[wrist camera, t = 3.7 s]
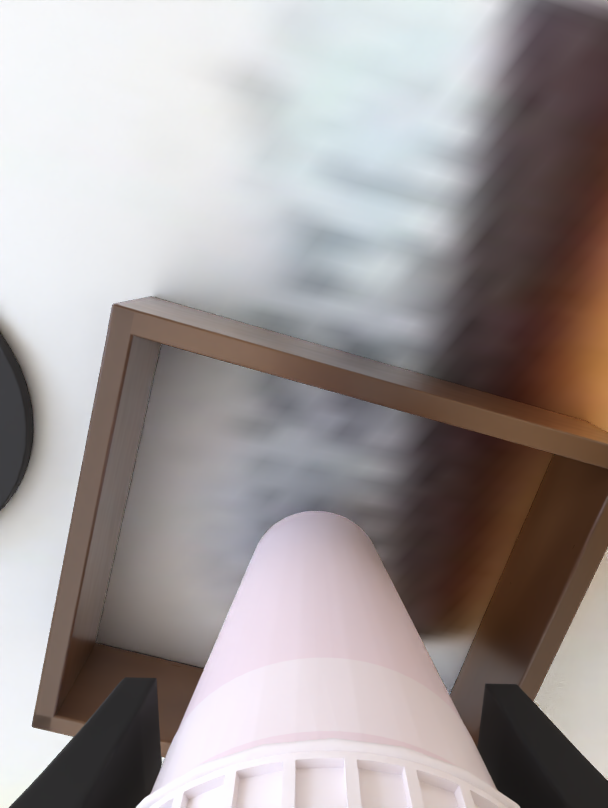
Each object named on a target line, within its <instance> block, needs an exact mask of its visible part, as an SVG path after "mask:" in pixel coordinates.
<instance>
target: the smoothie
mask: <svg viewBox="0 0 608 808" xmlns="http://www.w3.org/2000/svg"><path fill="white" fill-rule="evenodd" d="M136 808H520V806H519V805H518V804H517V803H515V802H514V801H512V800H511V799H509V798H508V797H506V796H505V795H503V794H502V793H501V792H499V791H498V790H497V788H496V786H495V784H494V782H493V780H492V778H491V776H490V774H489V772H488V770H487V768H486V766H485V764H484V762H483V760H482V758H481V755H480V753H479V751H478V749H477V747H476V745H475V743H474V741H473V739H472V737H471V735H470V733H469V732H468V730H467V728H466V726H465V725H464V723H463V721H462V719H461V717H460V715H459V713H458V711H457V709H456V707H455V705H454V703H453V701H452V699H451V697H450V695H449V693H448V691H447V689H446V687H445V685H444V683H443V681H442V680H441V678H440V676H439V674H438V672H437V670H436V668H435V666H434V664H433V662H432V660H431V658H430V656H429V654H428V652H427V650H426V648H425V646H424V644H423V642H422V640H421V638H420V636H419V634H418V632H417V630H416V628H415V626H414V624H413V622H412V620H411V618H410V616H409V614H408V612H407V610H406V608H405V606H404V604H403V602H402V600H401V598H400V596H399V595H398V593H397V591H396V589H395V587H394V585H393V583H392V581H391V579H390V577H389V575H388V573H387V571H386V569H385V567H384V565H383V563H382V561H381V559H380V557H379V555H378V553H377V551H376V549H375V547H374V545H373V543H372V541H371V540H370V538H369V537H368V535H367V534H366V533H365V532H364V531H363V530H362V529H361V528H360V527H359V526H358V525H357V524H355V523H354V522H352V521H351V520H349V519H347V518H345V517H343V516H341V515H338V514H335V513H331V512H325V511H306V512H300V513H296V514H293V515H290V516H288V517H286V518H284V519H282V520H280V521H279V522H277V523H276V524H274V525H273V526H272V527H271V528H270V529H268V530H267V532H266V533H265V534H264V535H263V536H262V538H261V539H260V541H259V543H258V545H257V547H256V549H255V551H254V554H253V556H252V558H251V561H250V563H249V565H248V568H247V570H246V572H245V575H244V577H243V579H242V582H241V584H240V586H239V589H238V591H237V593H236V596H235V598H234V600H233V603H232V605H231V607H230V610H229V612H228V614H227V617H226V619H225V621H224V624H223V626H222V628H221V631H220V633H219V635H218V638H217V640H216V642H215V645H214V647H213V649H212V652H211V654H210V656H209V659H208V661H207V663H206V666H205V668H204V670H203V673H202V675H201V677H200V680H199V682H198V684H197V687H196V689H195V691H194V693H193V696H192V698H191V700H190V703H189V705H188V707H187V710H186V712H185V714H184V717H183V719H182V721H181V724H180V726H179V728H178V731H177V733H176V734H175V736H174V738H173V740H172V743H171V745H170V747H169V750H168V752H167V754H166V757H165V759H164V762H163V764H162V767H161V769H160V772H159V774H158V776H157V779H156V781H155V784H154V786H153V789H152V791H151V794H150V795H148V796H147V797H145V798H144V799H143V800H142V801H141V802H140V803H139V804H138V805H137V807H136Z"/></svg>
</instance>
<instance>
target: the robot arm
mask: <svg viewBox="0 0 608 808" xmlns="http://www.w3.org/2000/svg"><path fill="white" fill-rule="evenodd" d="M477 749H478V751H479V753H480V755H481V758H482V760H483V762H484V764H485V766H486V768H487V770H488V772H489V774H490V776H491V778H492V780H493V782H494V784H495V786H496V788H497V790H498V791H499V792H501V793H502V794H503V795H505V796H506V797H508V798H509V799H511V800H512V801H514V802H515V803H517V804H518V805H519V806H520V808H608V781H607V780H606V779H605V778H604V776H603V775H602V774H601V773H600V772H599V771H598V770H597V769H596V768H595V767H594V766H593V765H592V764H591V763H590V762H589V761H588V760H587V759H586V758H585V757H584V756H583V755H582V754H581V753H580V752H579V751H578V750H577V748H576V747H575V746H574V745H573V744H572V743H571V742H570V741H569V740H568V739H567V738H566V737H565V736H564V735H563V733H562V732H561V731H560V730H559V729H558V728H557V727H556V726H555V725H554V724H553V723H552V722H551V720H550V719H549V718H548V717H547V716H546V715H545V714H544V713H543V712H542V711H541V710H540V708H539V707H538V706H537V705H536V704H535V703H534V702H533V701H532V700H531V699H530V698H529V697H528V696H527V694H526V693H525V692H524V691H523V690H522V689H521V688H520V687H519V686H518V685H517V684H485V689H484V697H483V706H482V714H481V722H480V730H479V738H478V746H477ZM161 764H162V759H161V743H160V727H159V711H158V695H157V679H156V678H134V677H125V678H124V679H123V680H122V681H120V682H119V684H118V685H117V686H116V687H115V688H114V690H113V691H112V692H111V693H110V694H109V696H108V697H107V698H106V699H105V701H104V702H103V703H102V704H101V705H100V707H99V708H98V709H97V710H96V711H95V713H94V714H93V715H92V716H91V717H90V719H89V720H88V721H87V722H86V723H85V724H84V726H83V727H82V728H81V729H80V730H79V731H78V733H77V734H76V735H75V736H74V737H73V738H72V740H71V741H70V742H69V743H68V744H67V745H66V746H65V748H64V749H63V750H62V751H61V752H60V753H59V754H58V755H57V756H56V758H55V759H54V760H53V761H52V762H51V763H50V764H49V765H48V767H47V768H46V769H45V770H44V771H43V772H42V773H41V774H40V775H39V777H38V778H37V779H36V780H35V781H34V782H33V783H32V784H31V785H30V786H29V787H28V788H27V789H26V790H25V791H24V792H23V793H22V795H21V796H20V797H19V798H18V799H17V800H16V801H15V802H14V803H13V804H12V805H11V806H10V807H9V808H136V807H137V805H138V804H139V803H140V802H141V801H142V800H143V799H144V798H145V797H147V796H148V795H150V794H151V791H152V789H153V786H154V784H155V781H156V779H157V776H158V774H159V772H160V769H161Z"/></svg>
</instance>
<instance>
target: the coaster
mask: <svg viewBox="0 0 608 808" xmlns="http://www.w3.org/2000/svg"><path fill="white" fill-rule="evenodd" d="M32 438H33V418H32V407H31V402H30V397H29V393H28V389H27V385H26V382H25V379H24V377H23V374H22V371H21V369H20V366H19V364H18V362H17V360H16V358H15V356H14V354H13V352H12V350H11V348H10V347H9V345H8V344H7V342H6V341H5V339H4V338H3V336H2V335H1V333H0V511H1V510H2V509H3V508H4V507H5V505H6V504H7V503H8V501H9V500H10V499H11V497H12V496H13V495H14V493H15V492H16V490H17V488H18V486H19V484H20V482H21V480H22V479H23V476H24V473H25V471H26V468H27V465H28V462H29V458H30V452H31V447H32Z"/></svg>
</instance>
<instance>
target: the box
mask: <svg viewBox="0 0 608 808" xmlns="http://www.w3.org/2000/svg"><path fill="white" fill-rule="evenodd" d="M161 344H164V345H168V346H172V347H175V348H179V349H182V350H186V351H189V352H193V353H196V354H200V355H204V356H207V357H211V358H214V359H218V360H221V361H225V362H228V363H232V364H236V365H239V366H243V367H246V368H250V369H253V370H257V371H260V372H264V373H268V374H271V375H275V376H278V377H282V378H285V379H289V380H292V381H296V382H300V383H303V384H307V385H310V386H314V387H317V388H321V389H324V390H328V391H332V392H335V393H339V394H342V395H346V396H349V397H353V398H356V399H360V400H364V401H367V402H371V403H374V404H378V405H381V406H385V407H388V408H392V409H396V410H399V411H403V412H406V413H410V414H413V415H417V416H420V417H424V418H428V419H431V420H435V421H438V422H442V423H445V424H449V425H453V426H456V427H460V428H463V429H467V430H470V431H474V432H477V433H481V434H485V435H488V436H492V437H495V438H499V439H502V440H506V441H509V442H513V443H517V444H520V445H524V446H527V447H531V448H534V449H538V450H541V451H545V452H549V453H552V454H554V455H553V457H552V460H551V462H550V464H549V467H548V469H547V471H546V474H545V476H544V478H543V481H542V483H541V485H540V488H539V490H538V492H537V494H536V497H535V499H534V501H533V504H532V506H531V508H530V511H529V513H528V515H527V518H526V520H525V522H524V525H523V527H522V529H521V532H520V534H519V536H518V539H517V541H516V543H515V545H514V548H513V550H512V552H511V555H510V557H509V559H508V562H507V564H506V566H505V569H504V571H503V573H502V576H501V578H500V580H499V583H498V585H497V587H496V590H495V592H494V594H493V596H492V599H491V601H490V603H489V606H488V608H487V610H486V613H485V615H484V617H483V620H482V622H481V624H480V627H479V629H478V631H477V634H476V636H475V638H474V641H473V643H472V645H471V647H470V650H469V652H468V654H467V657H466V659H465V661H464V664H463V666H462V668H461V671H460V673H459V675H458V678H457V680H456V682H455V685H454V687H453V689H452V692H451V694H450V697H451V699H452V701H453V703H454V705H455V707H456V709H457V711H458V713H459V715H460V717H461V719H462V721H463V723H464V725H465V726H466V728H467V730H468V732H469V733H470V735H471V737H472V739H473V741H474V743H475V745H476V747H477V746H478V738H479V730H480V722H481V714H482V706H483V697H484V689H485V684H517V685H518V686H519V687H520V688H521V689H522V690H523V691H524V692H525V693H526V694H527V696H528V697H529V698H530V699H531V700H532V701H534V699H535V697H536V695H537V693H538V691H539V689H540V687H541V685H542V683H543V680H544V678H545V676H546V674H547V672H548V670H549V668H550V666H551V664H552V662H553V660H554V658H555V656H556V653H557V651H558V649H559V647H560V645H561V643H562V641H563V639H564V637H565V635H566V633H567V631H568V629H569V626H570V624H571V622H572V620H573V618H574V616H575V614H576V612H577V610H578V608H579V606H580V604H581V602H582V599H583V597H584V595H585V593H586V591H587V589H588V587H589V585H590V583H591V581H592V579H593V577H594V575H595V572H596V570H597V568H598V566H599V564H600V562H601V560H602V558H603V556H604V554H605V552H606V550H607V548H608V433H607V432H606V431H604V430H602V429H600V428H598V427H596V426H595V425H593V424H591V423H589V422H587V421H584V420H580V419H577V418H573V417H570V416H567V415H563V414H560V413H556V412H553V411H549V410H546V409H542V408H539V407H535V406H532V405H528V404H525V403H521V402H518V401H514V400H511V399H507V398H504V397H500V396H497V395H493V394H490V393H486V392H483V391H479V390H476V389H472V388H469V387H465V386H462V385H458V384H455V383H452V382H448V381H445V380H441V379H438V378H434V377H431V376H427V375H424V374H420V373H417V372H413V371H410V370H406V369H403V368H399V367H396V366H392V365H389V364H385V363H382V362H378V361H375V360H371V359H368V358H364V357H361V356H357V355H354V354H350V353H347V352H343V351H340V350H337V349H333V348H330V347H326V346H323V345H319V344H316V343H312V342H309V341H305V340H302V339H298V338H295V337H291V336H288V335H284V334H281V333H277V332H274V331H270V330H267V329H263V328H260V327H256V326H253V325H249V324H246V323H242V322H239V321H235V320H232V319H228V318H225V317H222V316H218V315H215V314H211V313H208V312H204V311H201V310H197V309H194V308H190V307H187V306H183V305H180V304H176V303H173V302H169V301H166V300H162V299H159V298H155V297H152V296H151V297H145V298H140V299H135V300H130V301H125V302H120V303H114V304H113V305H112V309H111V315H110V320H109V325H108V332H107V337H106V342H105V347H104V352H103V358H102V363H101V368H100V373H99V378H98V384H97V389H96V394H95V399H94V404H93V410H92V415H91V420H90V425H89V430H88V436H87V441H86V446H85V451H84V456H83V462H82V467H81V472H80V477H79V482H78V488H77V493H76V498H75V503H74V508H73V514H72V519H71V524H70V529H69V534H68V540H67V545H66V550H65V555H64V560H63V566H62V571H61V576H60V581H59V586H58V592H57V597H56V602H55V607H54V612H53V618H52V623H51V628H50V633H49V638H48V644H47V649H46V654H45V659H44V664H43V669H42V675H41V680H40V685H39V690H38V695H37V701H36V706H35V711H34V716H33V721H32V727H33V728H38V729H42V730H46V731H51V732H55V733H60V734H64V735H68V736H73V737H74V736H75V735H76V734H77V733H78V731H79V730H80V729H81V728H82V727H83V726H84V724H85V723H86V722H87V721H88V720H89V719H90V717H91V716H92V715H93V714H94V713H95V711H96V710H97V709H98V708H99V707H100V705H101V704H102V703H103V702H104V701H105V699H106V698H107V697H108V696H109V694H110V693H111V692H112V691H113V690H114V688H115V687H116V686H117V685H118V684H119V682H120V681H122V680H123V679H124V678H125V677H134V678H156V679H157V695H158V711H159V727H160V743H161V757H166V754H167V752H168V750H169V747H170V745H171V743H172V740H173V738H174V736H175V734H176V733H177V731H178V728H179V726H180V724H181V721H182V719H183V717H184V714H185V712H186V710H187V707H188V705H189V703H190V700H191V698H192V696H193V693H194V691H195V689H196V687H197V684H198V682H199V680H200V677H201V675H202V673H203V670H204V669H202V668H198V667H194V666H190V665H185V664H181V663H177V662H173V661H169V660H165V659H160V658H156V657H152V656H148V655H144V654H140V653H135V652H131V651H127V650H123V649H119V648H115V647H111V646H106V645H102V644H98V643H96V639H97V634H98V630H99V625H100V621H101V616H102V612H103V607H104V603H105V598H106V593H107V589H108V584H109V580H110V575H111V571H112V566H113V562H114V557H115V552H116V548H117V543H118V539H119V534H120V530H121V525H122V521H123V516H124V511H125V507H126V502H127V498H128V493H129V489H130V484H131V480H132V475H133V470H134V466H135V461H136V457H137V452H138V448H139V443H140V439H141V434H142V429H143V425H144V420H145V416H146V411H147V407H148V402H149V397H150V393H151V388H152V384H153V379H154V375H155V370H156V366H157V361H158V356H159V352H160V347H161Z"/></svg>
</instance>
